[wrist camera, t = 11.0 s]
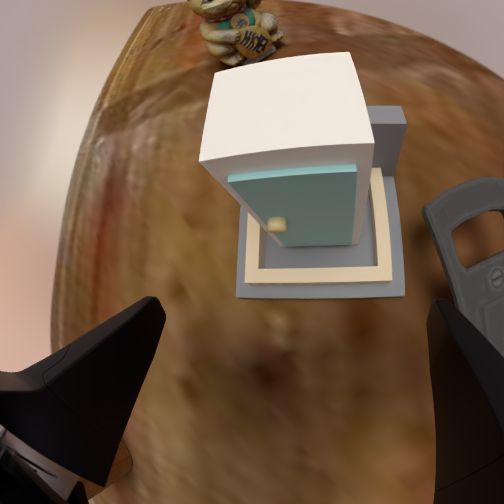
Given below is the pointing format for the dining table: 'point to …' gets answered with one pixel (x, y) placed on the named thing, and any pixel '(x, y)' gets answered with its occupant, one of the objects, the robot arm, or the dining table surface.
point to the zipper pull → (482, 273)
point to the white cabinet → (293, 146)
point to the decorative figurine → (236, 30)
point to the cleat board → (336, 256)
